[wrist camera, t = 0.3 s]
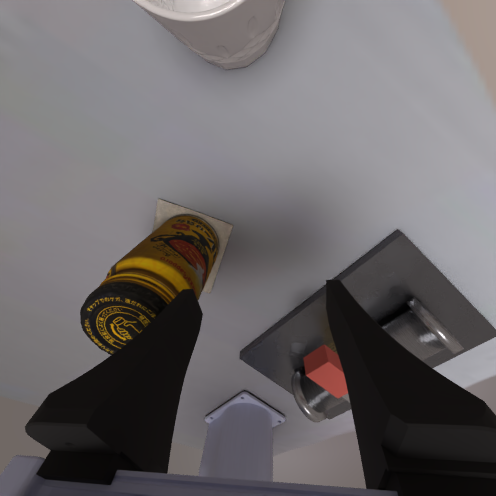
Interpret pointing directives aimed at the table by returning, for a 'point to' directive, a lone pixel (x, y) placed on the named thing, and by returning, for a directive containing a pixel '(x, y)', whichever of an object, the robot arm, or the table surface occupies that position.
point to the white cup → (219, 27)
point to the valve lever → (326, 371)
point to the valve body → (382, 311)
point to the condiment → (155, 275)
